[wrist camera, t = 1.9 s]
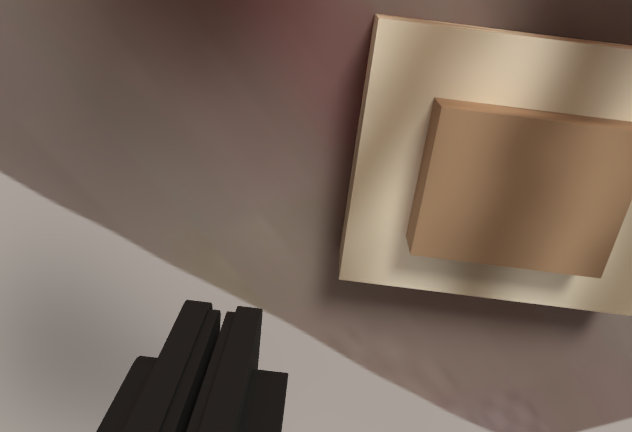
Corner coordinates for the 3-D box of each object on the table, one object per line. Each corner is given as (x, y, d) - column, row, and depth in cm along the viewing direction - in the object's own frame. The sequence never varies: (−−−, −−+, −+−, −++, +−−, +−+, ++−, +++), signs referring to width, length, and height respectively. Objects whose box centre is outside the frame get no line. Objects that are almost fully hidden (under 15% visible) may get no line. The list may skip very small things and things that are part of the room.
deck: (705, 54, 25) (752, 64, 22) (612, 284, 31) (640, 316, 28) (374, 13, 25) (378, 18, 22) (339, 250, 31) (338, 279, 28)
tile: (633, 121, 24) (657, 133, 22) (583, 257, 27) (601, 278, 25) (434, 97, 24) (441, 107, 22) (405, 235, 27) (410, 254, 25)
